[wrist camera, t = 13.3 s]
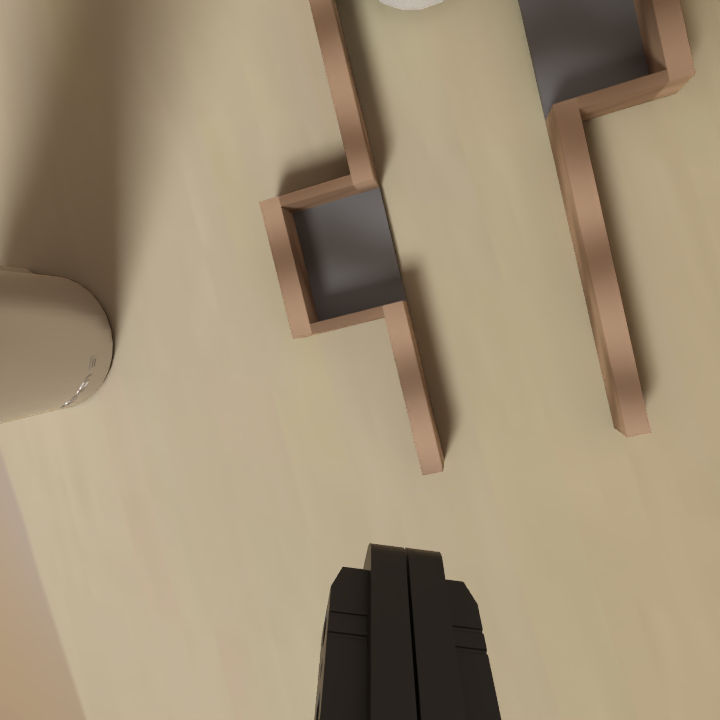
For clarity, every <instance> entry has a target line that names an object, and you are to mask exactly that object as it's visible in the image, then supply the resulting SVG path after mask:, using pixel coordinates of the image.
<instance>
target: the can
mask: <svg viewBox="0 0 720 720" xmlns="http://www.w3.org/2000/svg"><path fill="white" fill-rule="evenodd" d="M379 1H380V2H381V3H382V4H386V5H389V6H392V7H395V8H398V9H401V10H412V9H424V8H427V7H430V6H433V5H435V4H438V3H441V2H443V1H444V0H379Z"/></svg>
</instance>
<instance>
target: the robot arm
mask: <svg viewBox="0 0 720 720" xmlns="http://www.w3.org/2000/svg"><path fill="white" fill-rule="evenodd" d="M112 349H113V341H112V334H111V328H110V325H109V322H108V319H107V316H106V314H105V312H104V310H103V309H102V307H101V305H100V303H99V302H98V301H97V300H96V299H95V297H94V296H93V295H92V294H91V293H90V292H89V291H88V290H86V289H85V288H84V287H82V286H81V285H80V284H78V283H76V282H74V281H72V280H69V279H67V278H62V277H58V276H50V275H39V274H33V273H32V272H31V271H30V270H28V269H23V268H14V267H4V266H0V424H1V423H5V422H9V421H13V420H18V419H22V418H26V417H30V416H34V415H38V414H43V413H47V412H51V411H55V410H60V409H64V408H68V407H72V406H75V405H77V404H79V403H82V402H84V401H85V400H87V399H88V398H89V397H90V396H92V395H93V394H94V393H95V392H96V391H97V390H98V388H99V387H100V386H101V385H102V383H103V381H104V379H105V377H106V375H107V373H108V371H109V367H110V364H111V360H112ZM486 651H487V648H486V643H485V638H484V634H482V624H481V619H480V614H479V609H478V604H477V603H476V601H475V600H474V598H473V596H472V595H471V593H470V592H469V590H468V589H467V587H466V585H465V584H464V582H461V581H453V580H445V574H444V568H443V561H442V556H441V554H440V552H434V551H426V550H419V549H411V548H405V549H404V548H402V547H394V546H386V545H378V544H371V543H370V544H369V546H368V550H367V554H366V559H365V563H364V568H363V569H356V568H348V567H342V569H341V571H340V572H339V574H338V575H337V577H336V579H335V580H334V582H333V584H332V585H331V589H330V594H329V600H328V605H327V611H326V616H325V622H324V628H323V633H322V642H321V653H320V664H319V674H318V686H317V696H316V707H315V718H314V720H501V716H500V711H499V706H498V701H497V697H496V692H495V687H494V682H493V677H492V672H491V668H490V663H489V658H488V655H487V653H486Z"/></svg>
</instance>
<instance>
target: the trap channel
mask: <svg viewBox="0 0 720 720" xmlns="http://www.w3.org/2000/svg"><path fill="white" fill-rule="evenodd" d="M518 1H519V5H520V10H521V14H522V19H523V23H524V28H525V32H526V37H527V41H528V45H529V50H530V54H531V59H532V63H533V68H534V72H535V77H536V81H537V86H538V90H539V94H540V99H541V103H542V108H543V112H544V117H545V121H546V126H547V130H548V135H549V139H550V144H551V148H552V152H553V157H554V161H555V166H556V170H557V175H558V179H559V184H560V188H561V193H562V197H563V201H564V206H565V210H566V215H567V219H568V224H569V228H570V233H571V237H572V242H573V246H574V250H575V255H576V259H577V264H578V268H579V273H580V277H581V282H582V286H583V291H584V295H585V299H586V304H587V308H588V313H589V317H590V322H591V326H592V331H593V335H594V340H595V344H596V348H597V353H598V357H599V362H600V366H601V371H602V375H603V380H604V384H605V389H606V393H607V397H608V402H609V406H610V411H611V415H612V420H613V424H614V428H615V429H617V430H618V431H619V432H621V433H622V434H623V435H625V436H626V437H631V436H637V435H642V434H648V433H651V431H650V426H649V422H648V417H647V413H646V408H645V404H644V399H643V395H642V390H641V386H640V381H639V376H638V372H637V367H636V363H635V358H634V354H633V349H632V345H631V340H630V336H629V331H628V327H627V322H626V318H625V313H624V309H623V304H622V300H621V295H620V291H619V286H618V282H617V277H616V273H615V268H614V264H613V259H612V255H611V250H610V246H609V241H608V237H607V232H606V228H605V223H604V219H603V214H602V210H601V205H600V201H599V196H598V192H597V187H596V183H595V178H594V174H593V169H592V165H591V160H590V156H589V151H588V147H587V142H586V138H585V133H584V129H583V124H582V121H585V120H588V119H592V118H595V117H598V116H602V115H605V114H608V113H612V112H615V111H618V110H622V109H625V108H628V107H632V106H635V105H639V104H642V103H645V102H649V101H652V100H655V99H659V98H662V97H665V96H669V95H672V94H675V93H677V92H678V91H679V90H680V89H681V88H682V86H683V85H684V84H685V83H686V82H687V81H688V80H689V79H690V78H691V77H692V76H693V75H694V74H695V69H694V65H693V60H692V55H691V51H690V46H689V41H688V37H687V32H686V27H685V22H684V18H683V13H682V8H681V4H680V0H518ZM309 2H310V6H311V11H312V15H313V19H314V23H315V27H316V31H317V36H318V40H319V44H320V48H321V52H322V57H323V61H324V65H325V69H326V73H327V77H328V82H329V86H330V90H331V94H332V98H333V103H334V107H335V111H336V115H337V119H338V123H339V128H340V132H341V136H342V140H343V144H344V149H345V153H346V157H347V161H348V165H349V170H350V175H347V176H343V177H340V178H337V179H334V180H330V181H327V182H324V183H320V184H317V185H314V186H311V187H307V188H304V189H301V190H297V191H294V192H291V193H288V194H284V195H281V196H278V197H275V198H271V199H268V200H265V201H261V202H259V203H260V207H261V211H262V215H263V219H264V223H265V227H266V231H267V235H268V239H269V243H270V247H271V251H272V256H273V260H274V264H275V268H276V272H277V276H278V280H279V284H280V288H281V292H282V296H283V300H284V304H285V308H286V312H287V316H288V321H289V325H290V329H291V333H292V337H293V339H295V338H302V337H307V336H311V335H315V334H319V333H323V332H327V331H331V330H336V329H340V328H344V327H348V326H352V325H356V324H360V323H364V322H368V321H372V320H376V319H380V318H384V317H385V320H386V324H387V328H388V333H389V337H390V341H391V345H392V349H393V354H394V358H395V362H396V366H397V370H398V374H399V379H400V383H401V387H402V391H403V395H404V400H405V404H406V408H407V412H408V416H409V420H410V425H411V429H412V433H413V437H414V441H415V446H416V450H417V454H418V458H419V462H420V466H421V471H422V475H426V474H432V473H437V472H443V468H444V456H443V452H442V448H441V443H440V439H439V435H438V431H437V426H436V422H435V418H434V414H433V410H432V405H431V401H430V397H429V393H428V389H427V384H426V380H425V376H424V372H423V367H422V363H421V359H420V355H419V351H418V346H417V342H416V338H415V334H414V329H413V325H412V321H411V317H410V313H409V308H408V304H407V300H406V296H405V292H404V287H403V283H402V279H401V275H400V270H399V266H398V262H397V258H396V254H395V249H394V245H393V241H392V237H391V233H390V228H389V224H388V220H387V216H386V211H385V207H384V203H383V199H382V195H381V190H380V186H379V182H378V178H377V174H376V169H375V165H374V161H373V157H372V152H371V148H370V144H369V140H368V136H367V131H366V127H365V123H364V119H363V115H362V110H361V106H360V102H359V98H358V93H357V89H356V85H355V81H354V77H353V72H352V68H351V64H350V60H349V55H348V51H347V47H346V43H345V39H344V34H343V30H342V26H341V22H340V18H339V13H338V9H337V5H336V1H335V0H309Z"/></svg>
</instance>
